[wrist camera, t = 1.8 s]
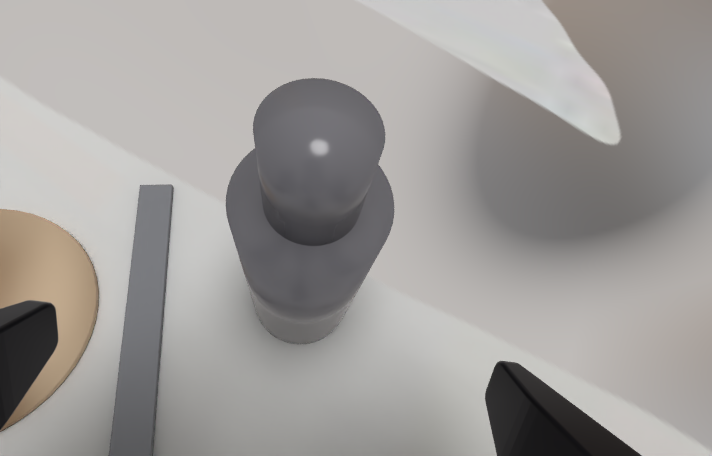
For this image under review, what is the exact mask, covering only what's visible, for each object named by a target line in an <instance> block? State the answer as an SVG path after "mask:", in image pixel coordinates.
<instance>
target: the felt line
mask: <svg viewBox="0 0 712 456" xmlns="http://www.w3.org/2000/svg"><path fill="white" fill-rule="evenodd" d="M172 199H173V186H172V185H140V191H139V199H138V208H137V217H136V225H135V234H134V243H133V251H132V260H131V269H130V277H129V286H128V295H127V304H126V312H125V321H124V330H123V338H122V347H121V356H120V364H119V373H118V382H117V390H116V399H115V408H114V417H113V425H112V434H111V443H110V451H109V456H152V454H153V442H154V429H155V416H156V403H157V391H158V378H159V365H160V352H161V339H162V327H163V314H164V301H165V288H166V276H167V263H168V250H169V237H170V225H171V212H172Z"/></svg>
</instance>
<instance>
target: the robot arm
mask: <svg viewBox="0 0 712 456" xmlns="http://www.w3.org/2000/svg"><path fill="white" fill-rule="evenodd" d="M57 344H58V326H57V315H56V308H55V306H54V305H53V304H52V303H50V302H43V301H35V300H27V301H24V302H20V303H17V304H14V305H11V306H7V307H4V308H1V309H0V430H1V429H2V427H3V426H4V425H5V424H6V422H7V421H8V420H9V418H10V417H11V415H12V414H13V413H14V411H15V410H16V408H17V407H18V405H19V404H20V402H21V401H22V399H23V398H24V396H25V395H26V393H27V392H28V390H29V389H30V387H31V386H32V384H33V383H34V381H35V380H36V378H37V377H38V375H39V374H40V372H41V371H42V369H43V368H44V366H45V365H46V363H47V362H48V360H49V359H50V357H51V356H52V354H53V353H54V351H55V349H56V347H57ZM485 400H486V406H487V411H488V415H489V420H490V425H491V429H492V434H493V439H494V443H495V448H496V453H497V456H641V455H640V454H639V453H637V452H636V451H635V450H633V449H632V448H631V447H629V446H628V445H627V444H625V443H624V442H623V441H621V440H620V439H619V438H617V437H616V436H615V435H613V434H612V433H611V432H609V431H608V430H607V429H605V428H604V427H603V426H601V425H600V424H599V423H597V422H596V421H595V420H593V419H592V418H591V417H589V416H588V415H587V414H585V413H584V412H583V411H581V410H580V409H579V408H577V407H576V406H575V405H573V404H572V403H571V402H569V401H568V400H567V399H565V398H564V397H563V396H561V395H560V394H559V393H557V392H556V391H555V390H553V389H552V388H551V387H549V386H548V385H547V384H545V383H544V382H543V381H541V380H540V379H539V378H537V377H536V376H535V375H533V374H532V373H531V372H529V371H528V370H527V369H525V368H524V367H523V366H521V365H520V364H518V363H515V362H507V361H499V362H498V363H497V364H496V365H495V367H494V370H493V373H492V376H491V378H490V381H489V384H488V387H487V389H486V394H485Z"/></svg>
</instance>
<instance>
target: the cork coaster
mask: <svg viewBox="0 0 712 456" xmlns="http://www.w3.org/2000/svg"><path fill="white" fill-rule="evenodd" d="M98 299H99V291H98V283H97V277H96V274H95V270H94V267H93V265H92V263H91V261H90V259H89V257H88V255H87V253H86V252H85V250H84V249H83V248H82V246H81V245H80V244H79V243H78V242H77V241H76V240H75V239H74V238H73V237H72V236H71V235H70V234H69V233H67V232H66V231H65V230H63V229H62V228H60V227H59V226H58V225H56V224H54V223H52V222H50V221H48V220H46V219H45V218H42V217H39V216H36V215H33V214H30V213H25V212H21V211H16V210H5V209H0V309H1V308H4V307H7V306H11V305H14V304H17V303H20V302H24V301H27V300H35V301H43V302H50V303H52V304H53V305H54V306H55V308H56V315H57V326H58V344H57V347H56V349H55V351H54V353H53V354H52V356H51V357H50V359H49V360H48V362H47V363H46V365H45V366H44V368H43V369H42V371H41V372H40V374H39V375H38V377H37V378H36V380H35V381H34V383H33V384H32V386H31V387H30V389H29V390H28V392H27V393H26V395H25V396H24V398H23V399H22V401H21V402H20V404H19V405H18V407H17V408H16V410H15V411H14V413H13V414H12V415H11V417H10V418H9V420H8V421H7V422H6V424H5V425H4V426H3V427H2V429H1V430H0V432H1V431H2V430H4V429H6V428H8V427H9V426H11V425H13V424H14V423H16V422H18V421H19V420H21V419H22V418H24V417H25V416H26V415H28V414H29V413H31V412H32V411H33V410H35V409H36V408H37V407H38V406H39V405H40V404H42V403H43V402H44V401H45V400H46V399H47V398H48V397H50V396H51V395H52V394H53V392H54V391H55V390H56V389H57V388H58V387H59V386H60V385H61V384H62V383H63V382H64V381H65V379H66V378H67V377H68V375H69V374H70V373H71V371H72V370H73V369H74V367H75V366H76V364H77V362H78V361H79V359H80V357H81V356H82V354H83V352H84V351H85V348H86V346H87V344H88V342H89V340H90V337H91V335H92V332H93V328H94V325H95V322H96V317H97V311H98Z"/></svg>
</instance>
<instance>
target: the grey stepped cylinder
mask: <svg viewBox="0 0 712 456" xmlns="http://www.w3.org/2000/svg"><path fill="white" fill-rule="evenodd" d="M253 133H254V141H255V149H253V150H252V151H251V152H250V153H249V154H248V155H247V156H246V157H245V158H244V159H243V160H242V161H241V162H240V164H239V165H238V166H237V168H236V170H235V171H234V174H233V175H232V177H231V180H230V183H229V185H228V190H227V195H226V212H227V218H228V222H229V226H230V229H231V232H232V235H233V238H234V242H235V245H236V248H237V251H238V254H239V258H240V261H241V264H242V267H243V270H244V274H245V277H246V280H247V283H248V286H249V290H250V293H251V296H252V299H253V302H254V306H255V309H256V312H257V315H258V317H259V320H260V321H261V323H262V325H263V326H264V327H265V328H266V330H267V331H268V332H270V333H271V334H272V335H273V336H275V337H276V338H278V339H280V340H282V341H285V342H288V343H293V344H307V343H312V342H315V341H318V340H320V339H322V338H324V337H326V336H327V335H329V334H330V333H331V332H332V331H333V330H334V329H335V328H336V327H337V326H338V324H339V323H340V321H341V320H342V318H343V316H344V314H345V313H346V311H347V309H348V307H349V305H350V304H351V302H352V300H353V298H354V297H355V295H356V293H357V291H358V289H359V288H360V286H361V284H362V282H363V281H364V279H365V277H366V275H367V273H368V272H369V270H370V268H371V266H372V265H373V263H374V261H375V259H376V258H377V255H378V254H379V252H380V250H381V249H382V246H383V245H384V243H385V242H386V239H387V237H388V235H389V233H390V230H391V227H392V224H393V218H394V200H393V194H392V190H391V187H390V184H389V182H388V180H387V178H386V176H385V174H384V172H383V171H382V169H381V168H380V166H379V165H378V162H379V160H380V157H381V154H382V151H383V148H384V143H385V129H384V125H383V121H382V119H381V117H380V114H379V113H378V111H377V109H376V108H375V107H374V105H373V104H372V103H371V102H370V101H369V100H368V99H367V98H366V97H365V96H364V95H362V94H361V93H360V92H358V91H356V90H355V89H353V88H351V87H349V86H347V85H345V84H342V83H339V82H336V81H332V80H327V79H317V78H316V79H315V78H311V79H301V80H296V81H292V82H289V83H287V84H284V85H282V86H280V87H278V88H277V89H275V90H274V91H272V92H271V93H270V94H269V95H268V96H267V97H266V98H265V99H264V100H263V101H262V103H261V104H260V106H259V107H258V109H257V112H256V114H255V117H254V123H253Z"/></svg>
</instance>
